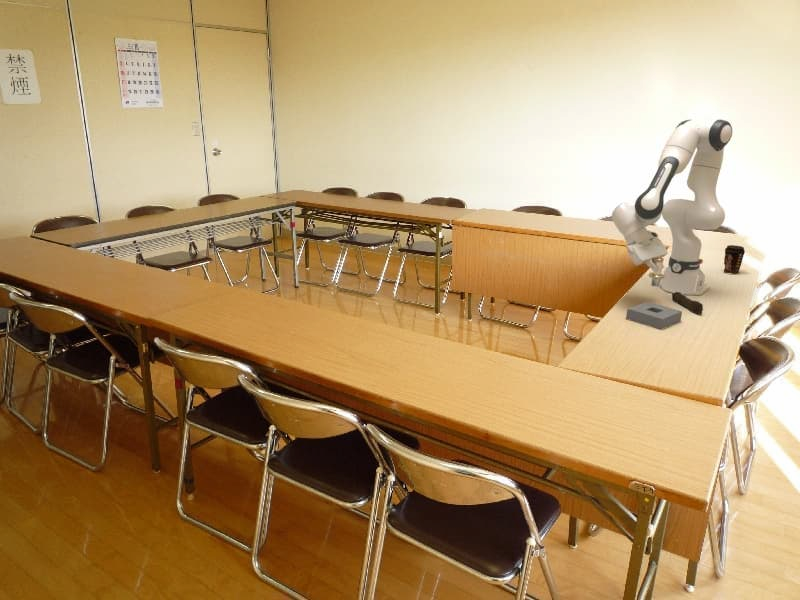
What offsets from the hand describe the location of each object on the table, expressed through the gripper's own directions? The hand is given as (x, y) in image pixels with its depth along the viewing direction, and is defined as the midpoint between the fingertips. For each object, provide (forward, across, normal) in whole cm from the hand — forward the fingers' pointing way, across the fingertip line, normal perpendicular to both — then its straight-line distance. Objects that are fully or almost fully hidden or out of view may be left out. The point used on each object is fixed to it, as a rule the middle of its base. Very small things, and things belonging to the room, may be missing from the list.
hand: (659, 269), depth 228 cm
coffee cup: (+9, +80, +15) cm, 82 cm away
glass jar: (+4, 0, +5) cm, 7 cm away
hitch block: (+16, -13, +6) cm, 22 cm away
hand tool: (+18, +12, +6) cm, 22 cm away
